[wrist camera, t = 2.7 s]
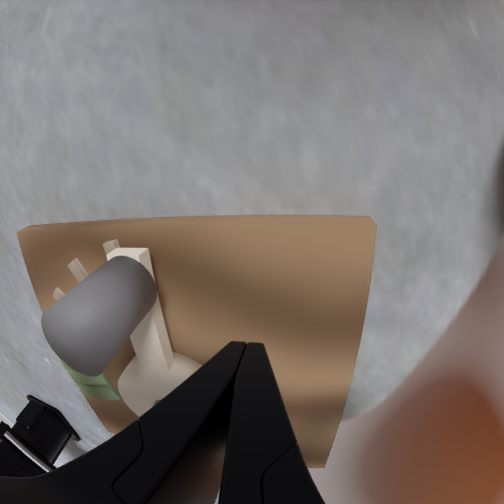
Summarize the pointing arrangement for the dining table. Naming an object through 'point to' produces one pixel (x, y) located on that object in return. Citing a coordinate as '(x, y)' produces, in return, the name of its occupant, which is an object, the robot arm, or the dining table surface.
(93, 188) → the dining table surface
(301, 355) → the dial board
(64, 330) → the needle
